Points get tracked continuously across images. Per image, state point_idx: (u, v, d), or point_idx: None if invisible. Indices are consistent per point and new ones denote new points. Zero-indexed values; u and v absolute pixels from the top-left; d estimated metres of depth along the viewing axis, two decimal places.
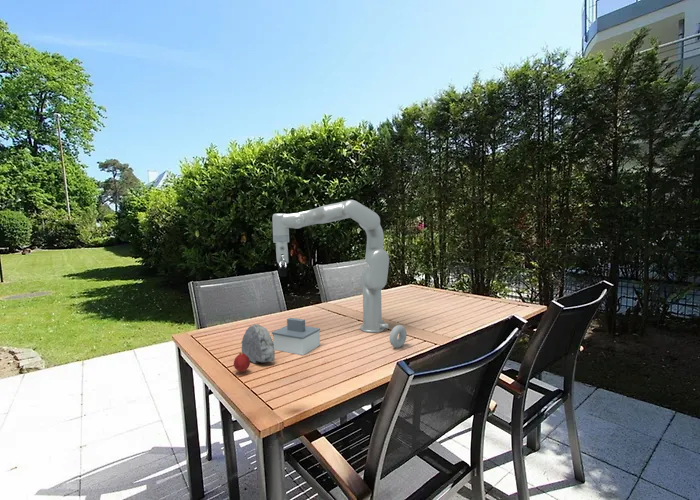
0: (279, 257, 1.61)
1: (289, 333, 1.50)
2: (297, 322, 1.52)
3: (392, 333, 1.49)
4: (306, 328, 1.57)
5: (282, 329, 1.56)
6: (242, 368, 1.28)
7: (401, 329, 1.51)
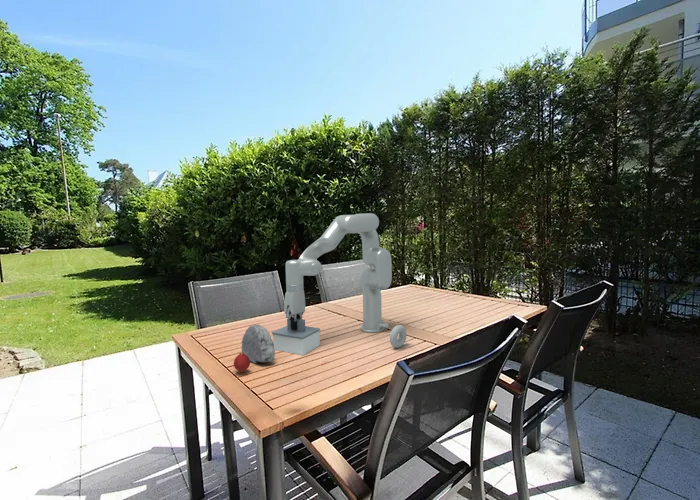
0: None
1: (289, 333, 1.50)
2: (297, 322, 1.52)
3: (392, 333, 1.49)
4: (306, 328, 1.57)
5: (282, 329, 1.56)
6: (242, 368, 1.28)
7: (401, 329, 1.51)
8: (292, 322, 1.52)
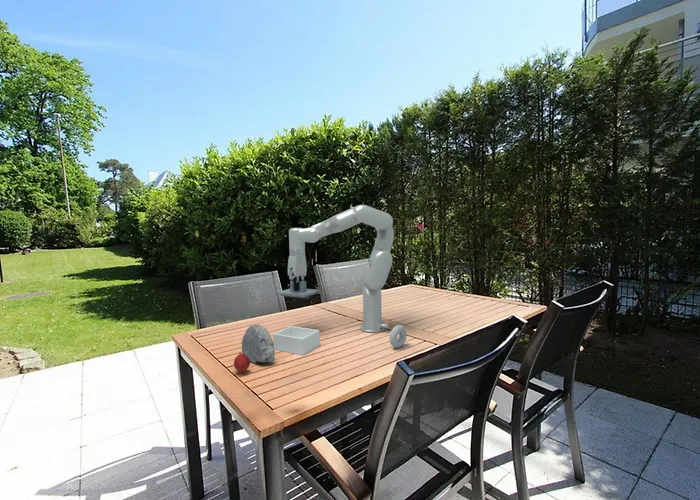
0: None
1: (292, 293, 1.68)
2: (299, 283, 1.70)
3: (392, 333, 1.49)
4: (307, 290, 1.75)
5: (285, 290, 1.74)
6: (242, 368, 1.28)
7: (401, 329, 1.51)
8: (295, 283, 1.70)
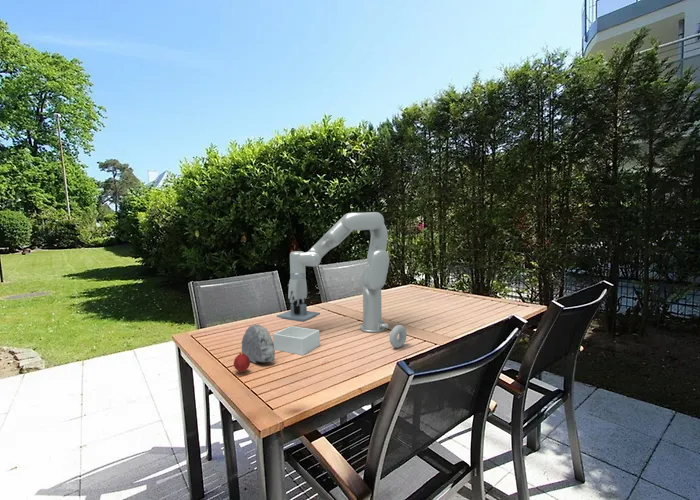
0: None
1: (292, 316, 1.69)
2: None
3: (392, 333, 1.49)
4: (307, 312, 1.76)
5: (286, 313, 1.75)
6: (242, 368, 1.28)
7: (401, 329, 1.51)
8: (295, 306, 1.71)
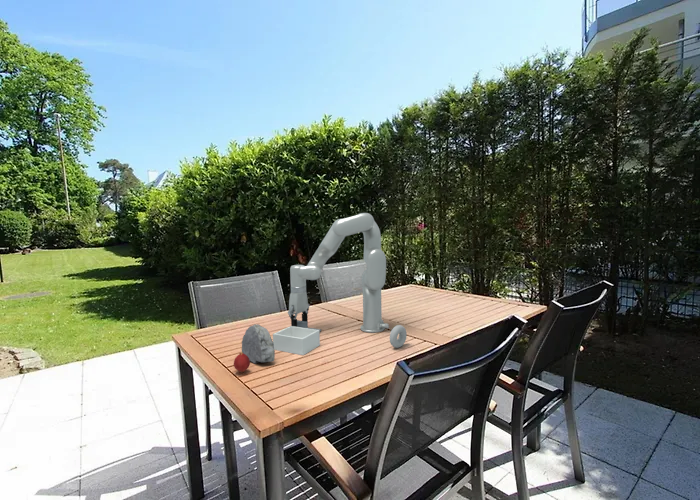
0: None
1: None
2: (300, 323, 1.72)
3: (392, 333, 1.49)
4: None
5: None
6: (242, 368, 1.28)
7: (401, 329, 1.51)
8: (292, 320, 1.69)
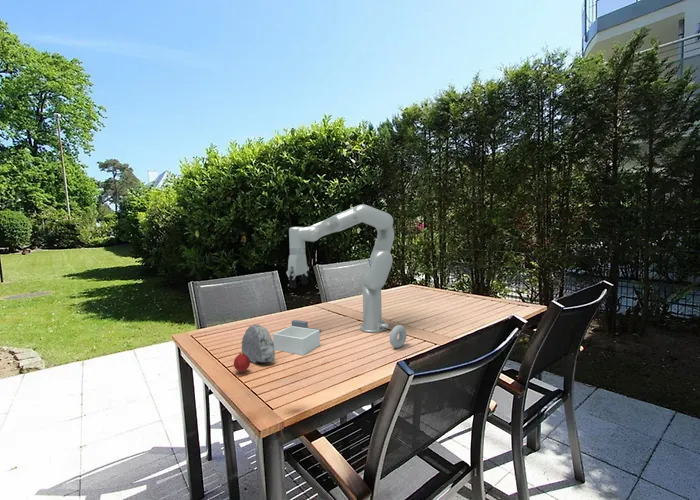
0: None
1: None
2: (300, 323, 1.72)
3: (392, 333, 1.49)
4: None
5: None
6: (242, 368, 1.28)
7: (401, 329, 1.51)
8: (291, 280, 1.67)
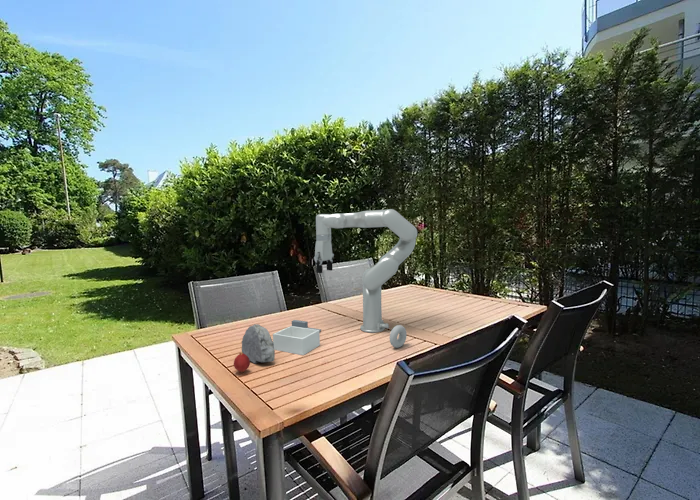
0: None
1: None
2: (300, 323, 1.72)
3: (392, 333, 1.49)
4: None
5: None
6: (242, 368, 1.28)
7: (401, 329, 1.51)
8: (318, 266, 1.73)
